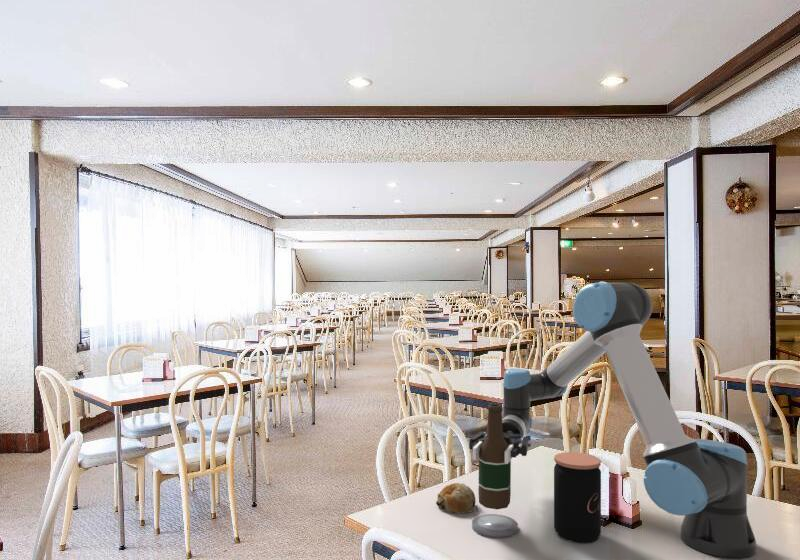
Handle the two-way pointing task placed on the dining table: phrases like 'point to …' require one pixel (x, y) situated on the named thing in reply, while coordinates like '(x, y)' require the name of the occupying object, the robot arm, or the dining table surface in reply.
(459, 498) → the bread roll
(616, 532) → the dining table surface
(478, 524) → the dish
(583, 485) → the coffee jar
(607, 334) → the robot arm
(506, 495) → the beer bottle
